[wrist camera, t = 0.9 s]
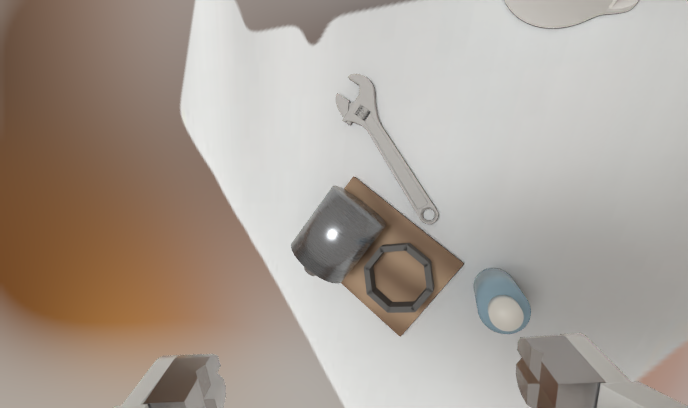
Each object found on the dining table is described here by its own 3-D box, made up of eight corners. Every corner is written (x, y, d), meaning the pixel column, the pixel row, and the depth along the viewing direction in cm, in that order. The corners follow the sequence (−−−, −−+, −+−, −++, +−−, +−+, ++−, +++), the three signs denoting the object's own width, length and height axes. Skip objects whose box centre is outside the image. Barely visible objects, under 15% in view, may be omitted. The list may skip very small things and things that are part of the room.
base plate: (355, 177, 52) (353, 176, 51) (463, 262, 47) (463, 264, 46) (304, 246, 55) (301, 247, 54) (401, 334, 50) (400, 336, 49)
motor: (345, 187, 51) (323, 184, 43) (391, 224, 49) (377, 229, 40) (301, 247, 54) (272, 255, 45) (343, 285, 51) (320, 301, 43)
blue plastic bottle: (490, 260, 46) (501, 279, 34) (524, 286, 44) (547, 315, 33) (465, 288, 47) (467, 316, 35) (497, 314, 45) (510, 352, 34)
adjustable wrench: (443, 218, 48) (442, 218, 47) (403, 237, 50) (401, 238, 48) (366, 71, 52) (363, 67, 50) (331, 94, 53) (327, 91, 52)
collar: (394, 230, 49) (391, 232, 46) (446, 272, 47) (446, 276, 44) (357, 277, 51) (352, 281, 48) (405, 320, 48) (402, 326, 46)
